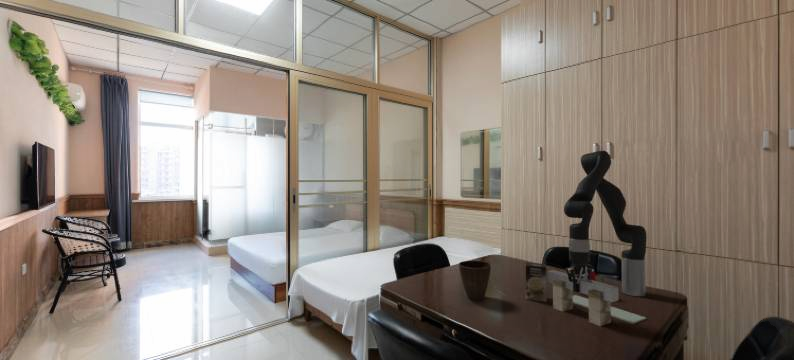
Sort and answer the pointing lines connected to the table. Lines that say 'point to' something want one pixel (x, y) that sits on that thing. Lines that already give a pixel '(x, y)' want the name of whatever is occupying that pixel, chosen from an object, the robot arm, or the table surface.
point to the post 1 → (562, 297)
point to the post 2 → (598, 309)
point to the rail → (585, 285)
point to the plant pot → (475, 278)
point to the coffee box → (536, 282)
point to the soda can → (593, 277)
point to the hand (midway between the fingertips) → (579, 290)
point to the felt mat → (614, 311)
